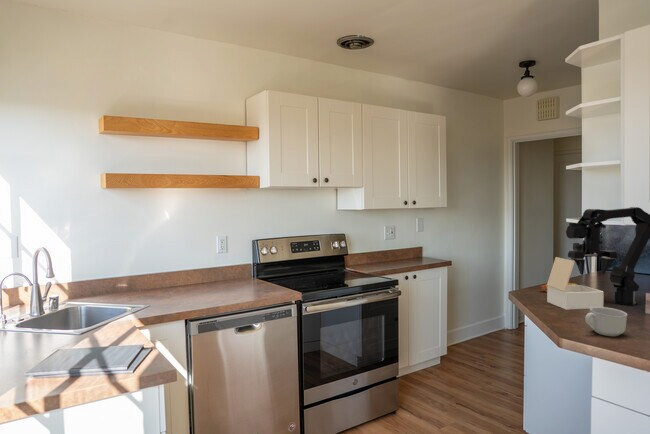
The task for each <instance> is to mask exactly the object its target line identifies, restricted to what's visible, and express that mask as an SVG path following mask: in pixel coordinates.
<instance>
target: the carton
mask: <svg viewBox="0 0 650 434" xmlns="http://www.w3.org/2000/svg"><path fill="white" fill-rule="evenodd" d="M546 295H547V296H546V298H547V300H546V302H547V303H548V304H551V305H554V306H557V307H559V308H561V309H564V310H567V311H568V310H590V308H592V307H604V291H603V290H600V289H596V288H593V287H590V286H587V285H582V284H579V285H578V284H577V285H567V288H566V291H563V290H560V289H557V288H554V287H551V286H547V291H546Z"/></svg>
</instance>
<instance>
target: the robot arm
mask: <svg viewBox="0 0 650 434" xmlns="http://www.w3.org/2000/svg"><path fill="white" fill-rule="evenodd" d="M620 218H621V219H623V218H631V221H632V222H633V223H634V224H635V229H634V230H635V237H634V239H633V241H632V242H631V244H630V246H629V249H628V251H627V252H626V254H625V256H624V258H623V260H622V262H621V264H620V265H619V266H616V265H614V266H613V267H612V270H611V271H610V273H609V275H610V276H609V280H610V282H611V283H612V286H613V288H614V289H615V288H616V290H615V292H614V304H618V305H626V306H634V305H635V304H637V302H636V292H638V291H639V289H640V285H639V284H638V283H637V282H636V281H635V277H636V276H635V274H636V273H635V268H636V266H637V264H638V262H639V260H640V258H641V256H642V254H643V252H644V250H645V248H646V246H647V244H648V242H649V240H650V214H649V213H648V212H646V211H645V210H643V208H641V207H638V206H637V207H636V206H631V207H627V208H626V207H624V208H614V209H599V208H598V209H597V208H595V209H594V208H588V209H584V211H583V213H582V216H581V217H580V218H579V219H578V221H577V222H569V223H568V225H567V226H566V230H565V234H566V237H567V238H568V239H573V240H575V239H583V240H582V243H580V242H574V243H572V249H573V250H569V251H568V252H567V258H570V259H571V260H572V261H575V264H576V266H577V268H578V272H579V274H580V275H581V276H583V275H584V272H585V263H586V259H584V258H587V257H589V258H590V257H592V258H593V257H594V258H595V257H596V258H597V257H599V259H600V261H601V263H600V267H601V268H600V271H601V275H603V276H604V275H605V273H606V272H607V270H608V268H609V267H610V265H611V264H612V262H613V261H615V260H616V259H618V258H619V254H618V252H617V251H615V250H605V249H603V250H601V245H602V244H603V240H601V235H602V234H601V230H602V229H605V228H606V227H607V226H606V225H605V224H604V223H603V222H605V221H608V220H611V219H620Z"/></svg>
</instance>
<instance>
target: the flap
mask: <svg viewBox="0 0 650 434" xmlns="http://www.w3.org/2000/svg"><path fill="white" fill-rule="evenodd" d="M575 264H576V262H575V261H574V260H573V259H571V260H570V259H567V258H562V257H559V256H556V257H555V258H554V261H553V265H552V268H551V271H550V273H549V277H548V281H547V285H548V286H551V287H554V288H557V289H560V290H563V291H566V288H567V285H568V283H570V278H571V275H572V272H573V270H574V269H573V268H574V265H575Z"/></svg>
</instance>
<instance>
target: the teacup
mask: <svg viewBox="0 0 650 434" xmlns="http://www.w3.org/2000/svg"><path fill="white" fill-rule="evenodd" d="M627 318H628V313H627V312H625V311H623V310H620V309H617V308H611V307H607V306H603V307H592V308H590V309H589V312H588V313H587V314H586V315H585V318H584V320H585V322H586V324H587V325H588V326H590V328H591V329H592V330H593V331H594V332H595V333H596V334H599V335H602V336H606V337H618V336H620V335H622V334H623V333H624V332H625V331H626V328H627V327H626V326H627Z"/></svg>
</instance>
